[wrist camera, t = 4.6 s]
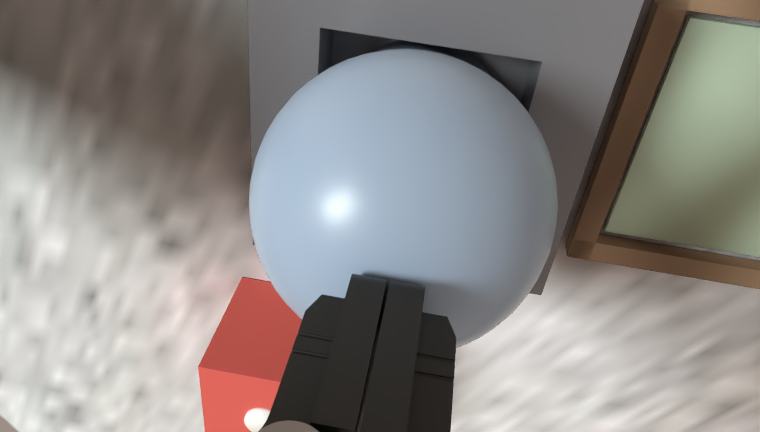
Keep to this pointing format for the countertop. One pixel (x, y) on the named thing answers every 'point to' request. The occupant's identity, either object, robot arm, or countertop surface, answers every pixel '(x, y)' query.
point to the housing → (477, 37)
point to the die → (247, 358)
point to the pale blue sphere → (406, 186)
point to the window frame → (682, 150)
